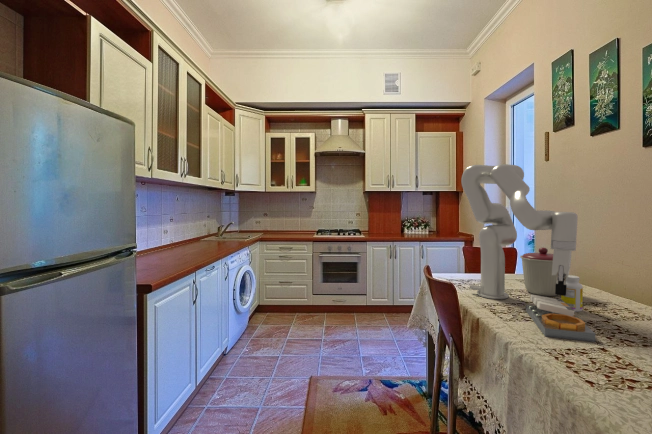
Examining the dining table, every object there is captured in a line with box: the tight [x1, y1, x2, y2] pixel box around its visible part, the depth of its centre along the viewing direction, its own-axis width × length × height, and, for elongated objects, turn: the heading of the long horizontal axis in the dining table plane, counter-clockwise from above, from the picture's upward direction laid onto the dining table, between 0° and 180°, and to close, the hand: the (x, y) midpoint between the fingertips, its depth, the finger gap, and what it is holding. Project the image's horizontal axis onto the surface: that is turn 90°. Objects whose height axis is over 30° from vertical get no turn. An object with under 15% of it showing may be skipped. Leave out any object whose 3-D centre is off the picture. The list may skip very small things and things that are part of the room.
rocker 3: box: [536, 301, 576, 317], centre depth 112 cm, size 10×3×2 cm, turn 70°
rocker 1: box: [529, 293, 564, 303], centre depth 121 cm, size 10×3×2 cm, turn 70°
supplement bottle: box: [560, 274, 584, 313], centre depth 126 cm, size 7×7×13 cm
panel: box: [525, 304, 596, 343], centre depth 110 cm, size 13×26×4 cm, turn 160°
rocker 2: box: [532, 297, 569, 307], centre depth 116 cm, size 10×3×2 cm, turn 70°
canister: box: [519, 247, 557, 297], centre depth 150 cm, size 18×18×21 cm
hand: (560, 294), depth 121 cm, fingers closed
